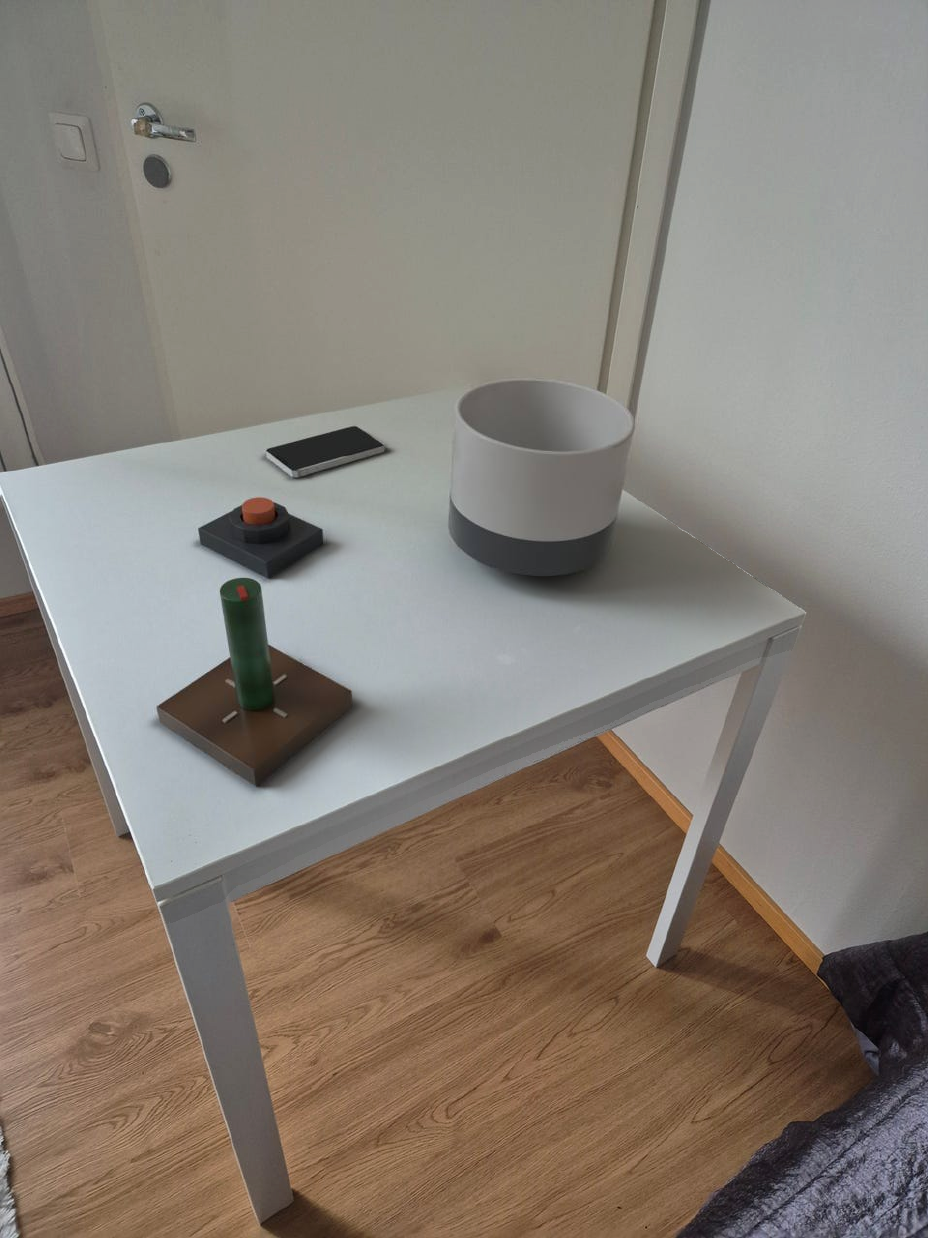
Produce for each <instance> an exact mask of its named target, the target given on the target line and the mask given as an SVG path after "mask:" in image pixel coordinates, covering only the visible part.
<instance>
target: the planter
mask: <svg viewBox="0 0 928 1238" xmlns="http://www.w3.org/2000/svg"><path fill="white" fill-rule="evenodd" d="M453 411H454V412H453V432H452V449H451V468H450V485H449V487H450V488H449V507H448V524H447V525H448V531H449V532H448V533H449V534H450V537H451V539H452V541H453V542H454V544H455V545H456V546H457V547H458V548H459V550H461V551H462V552H463V553H464V554H465V555H467V556H469V557H470V558H471V559H473V560H475V561H477V562H479V563H481V564H482V565H486V566H488V567H490V568H493V569H495V570H498V571H502V572H505V573H510V574H515V575H522V576H532V577H554V576H555V577H556V576H563V575H569V574H573V573H578V572H580V571H584V570H586V569H589V568H590V567H593V566H595V565H596V564H597V563H599V562H601V560H602V559H603V558H605V556H606V555H607V554H608V552H609V551H610V549H611V547H612V543H613V538H614V533H615V529H616V523H617V519H618V514H619V509H620V504H621V498H622V493H623V489H624V484H625V478H626V475H627V469H628V464H629V460H630V455H631V450H632V445H633V439H634V435H635V429H636V421H635V418H634V416H633V414H632V413H631V411H630V410H629V408H628V407H626V405H624V404H623V403H622V402H620V401H619V400H618V399H616V398H614V397H613V396H611V395H609V394H606V393H605V392H602V391H600V390H597V389H594V388H592V387H589V386H585V385H582V384H579V383H574V382H569V381H564V380H559V379H551V378H537V377H519V378H518V377H516V378H515V377H514V378H505V379H504V378H503V379H499V380H492V381H487V382H484V383H481V384H478V385H475V386H474V387H471V388H470V389H468V390H466V391H464V393H462V394H461V395H460V396H459V397H458V398H457V400H456V402H455V404H454V410H453Z"/></svg>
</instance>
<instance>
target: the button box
mask: <svg viewBox="0 0 928 1238" xmlns="http://www.w3.org/2000/svg"><path fill="white" fill-rule="evenodd" d="M273 503H274V507H275V520H274V521H272V522H270V523H268V524H263V525H252V524H247V523H245V522H244V520H243V513H242V504H241V505H238V506H236V507H234V508H233V509H232V510H231V511H229V512H227V513H225V514H223V515H221V516H219V517H217V518H215V519H213V520H211V521H209V522H207V523H206V524H203V525H202V526H200V527H198V528H197V531H198V536H199V537H198V538H199V542H200V545H201V546H203V547H205V548H208V549H209V550H211V551H214V552H215V553H217V554H219V555H221V556H223V557H225V558H227V559H229V560H231V561H233V562H235V563H236V564H238V565H241V566H243V567H244V568H247V569H248V570H250V571H252V572H254V573H256V574H258V575H260V576H262V577H264V578H265V579H270V578H272V577H273V576H275V575H277V574H278V573H280V572H281V571H283V570H285V569H287V568H288V567H290V566H291V565H293V564H294V563H297V562H298V561H299V560H302V559H304V557H306V556H308V555H310V554H311V553H313V552H314V551H315V550H317V549H319V548H321V547H322V546H324V531H323V530H324V529H323V528H321V527H319V526H317V525H314V524H312V523H310V522H308V521H305V520H304V519H301V518H299V517H297V516H295V515H292V514H291V513H289V511H288V509H287V508H286V506H284V505H281V504H279V503H278V502H274V501H273Z"/></svg>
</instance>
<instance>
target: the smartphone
mask: <svg viewBox="0 0 928 1238" xmlns="http://www.w3.org/2000/svg"><path fill="white" fill-rule="evenodd" d="M385 447H386V446H385V443H383V442H382V441H380V440H379V439H377V438H375V436H373V435H371V434H369V433H367V432H366V431H365V430H363V429H362V428H360V427H358V426H357V425H352V426H348V427H343V428H340V429H336V430H332V431H329V432H325V433H322V434H318V435H314V436H309V437H306V438H302V439H299V440H295V441H290V442H287V443H283V444H279V445H276V446H273V447H269V448H266V450H265V456H266V458H267V459H268V460H270V461H271V462H272V463H274V464H275V465H276V466H277V467H279V468H280V469H281V470H282V471H284V472H285V473H286V474H288V475H289V476H290V477H291V478H299V477H304V476H307V475H310V474H314V473H317V472H320V471H323V470H327V469H330V468H335V467H337V466H342V465H344V464H348V463H351V462H354V461H358V460H362V459H365V458H369V457H371V456H374V455H375V456H376V455H379V454H381V453H384V452H385V450H386V449H385Z"/></svg>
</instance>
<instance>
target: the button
mask: <svg viewBox="0 0 928 1238" xmlns="http://www.w3.org/2000/svg"><path fill="white" fill-rule="evenodd" d="M273 502H274V501H273V500H271V499H270V498H267V497H252V498H249V499H247V500H244V502H243V503H242V504H241V505H242V513H243V520H244V522H245V523H247V524H252V525H263V524H268V523H270V522H272V521H274V520H275V507H274V503H273Z"/></svg>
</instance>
